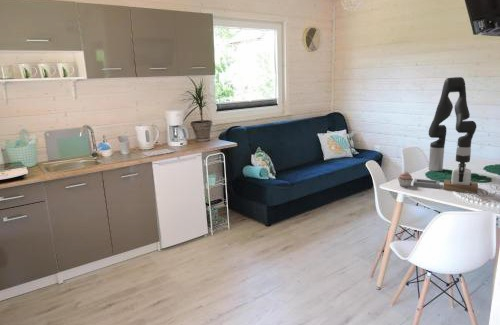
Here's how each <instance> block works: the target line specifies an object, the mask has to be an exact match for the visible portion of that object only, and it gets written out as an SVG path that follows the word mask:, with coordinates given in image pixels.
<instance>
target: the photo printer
mask: <svg viewBox="0 0 500 325" xmlns="http://www.w3.org/2000/svg"><path fill="white" fill-rule="evenodd" d="M458 170H459V167H456V168H453V169H452V171H451V178H450V180H451V184H460V185H470V182H471V179H472V170H471V169H469V168H467V167H466V168H465V172H464V176H463V182H459V172H458ZM460 174H463V173H460Z"/></svg>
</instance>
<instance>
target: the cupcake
mask: <svg viewBox="0 0 500 325" xmlns="http://www.w3.org/2000/svg"><path fill="white" fill-rule="evenodd" d="M413 179H414V178H412V175H411V174H410V173H409V172H408V171H406V170H404V172H402V173H400V174H399V175H398V177H397V180H398V183H399V186H400V187H403V188H410V186H411V185H412V182H413V181H414V180H413Z"/></svg>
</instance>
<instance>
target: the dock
mask: <svg viewBox="0 0 500 325" xmlns="http://www.w3.org/2000/svg"><path fill="white" fill-rule="evenodd" d="M442 187H443V188H442V190H443V191H444V190H445V191H454V192H462V191H468V192H467V193H471V192H476V193H475V194H478V189H479V183H478V182H476V181H470V185H460V184H451V179H444V182H443V186H442Z"/></svg>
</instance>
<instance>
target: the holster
mask: <svg viewBox="0 0 500 325" xmlns="http://www.w3.org/2000/svg"><path fill="white" fill-rule="evenodd" d="M412 182H413V183H412V186H414V187H423V188H432V189H439V188H440V183H441V182H440V180H435V179H434V180H433V179H424V178H414V180H413V181H412Z"/></svg>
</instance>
